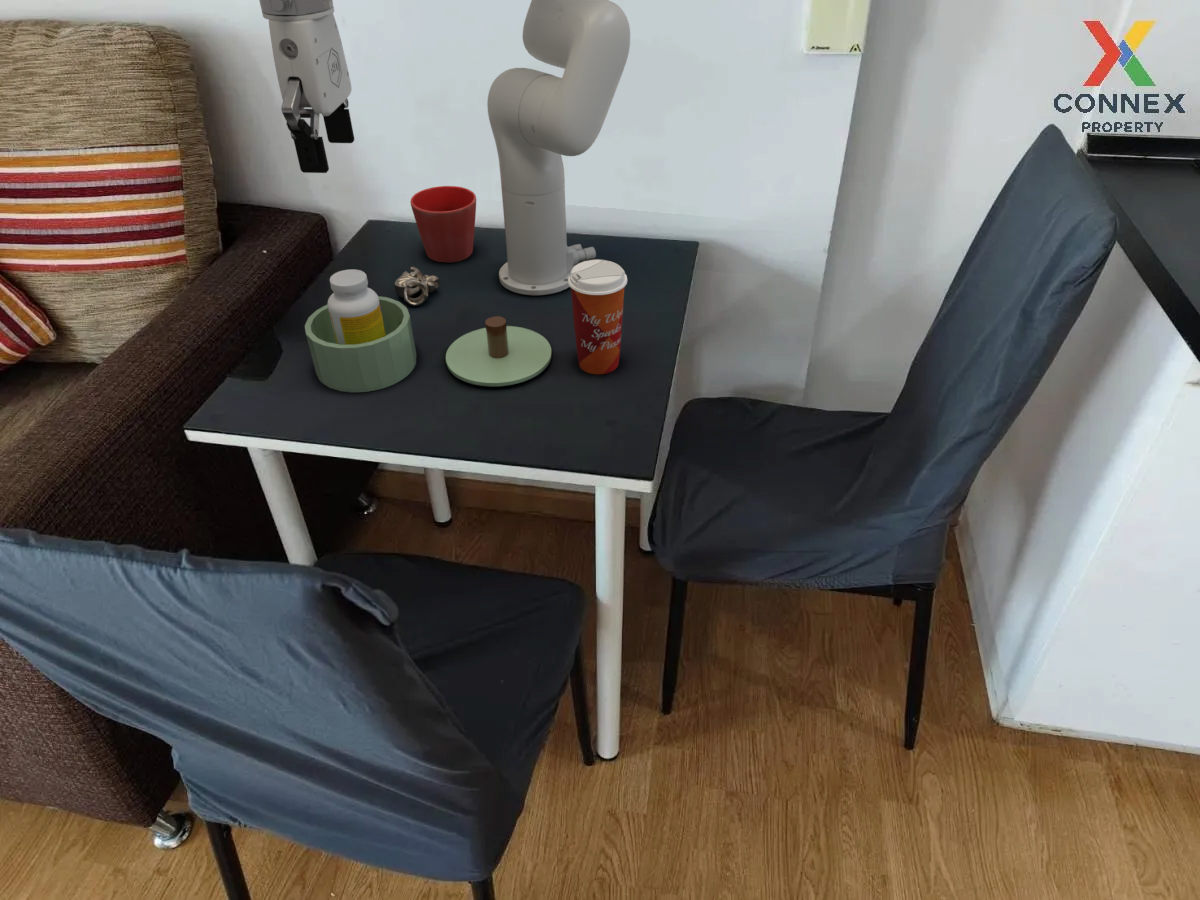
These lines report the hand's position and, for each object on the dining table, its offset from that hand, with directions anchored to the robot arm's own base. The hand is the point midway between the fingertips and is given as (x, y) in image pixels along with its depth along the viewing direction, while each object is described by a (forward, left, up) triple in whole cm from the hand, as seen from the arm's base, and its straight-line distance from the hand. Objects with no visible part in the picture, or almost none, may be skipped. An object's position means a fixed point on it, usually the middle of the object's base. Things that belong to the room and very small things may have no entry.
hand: (329, 156), depth 103 cm
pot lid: (-16, +9, -28) cm, 33 cm away
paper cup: (-28, +16, -28) cm, 43 cm away
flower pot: (-20, -26, -28) cm, 43 cm away
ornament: (-11, -14, -28) cm, 34 cm away
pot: (+1, +2, -28) cm, 28 cm away
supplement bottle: (+1, +2, -28) cm, 28 cm away
